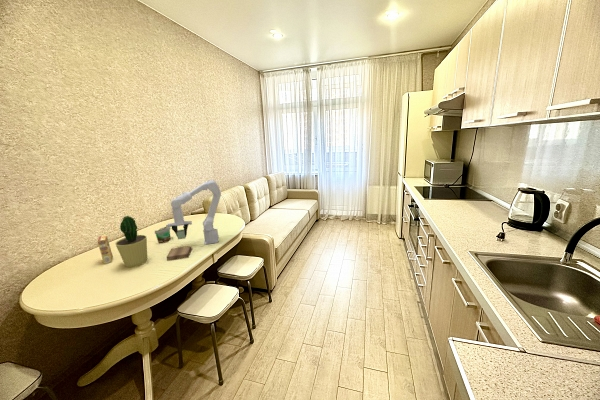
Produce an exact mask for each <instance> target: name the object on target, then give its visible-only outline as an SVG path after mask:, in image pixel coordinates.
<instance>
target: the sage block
mask: <svg viewBox="0 0 600 400" xmlns="http://www.w3.org/2000/svg"><path fill="white" fill-rule="evenodd" d="M176 237H177V240H183V239H184V240H185V239H186V238H187V235H186V236H185V232H184V228H183V229H178V231H177V236H176Z"/></svg>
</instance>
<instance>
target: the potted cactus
mask: <svg viewBox="0 0 600 400" xmlns="http://www.w3.org/2000/svg"><path fill="white" fill-rule="evenodd" d="M119 230H120V232H121V233H122V234H123V238H121V239H118V240H117V241H116V242H115V243H114V244H115V246H116V249H117V252H118V253H119V255H120V257H121V259H122V262H123V264H124V265H125V267H127V268H134V267H138V266H141V265H144V264H145V263H146V262H148V244H147V243H148V242H147V241H148V240H147V235H145V234H138V230H139V226H138V225H137V222H136V219H135V217H134V218H133V216H130V215H126V216H122V220H121V222H120V223H119Z"/></svg>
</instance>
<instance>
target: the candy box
mask: <svg viewBox="0 0 600 400" xmlns="http://www.w3.org/2000/svg"><path fill="white" fill-rule="evenodd" d="M97 245H98V248H99V251H100V254H101V258H102V262H103V264H104V265H105V264H109V263H112V262H113V258H114V256H113V252H112V248H111V246H110V241H109V237H108V235H107V234H106V235H100V236H98V238H97Z"/></svg>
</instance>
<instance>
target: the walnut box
mask: <svg viewBox="0 0 600 400" xmlns="http://www.w3.org/2000/svg"><path fill="white" fill-rule="evenodd" d="M191 252H192V246H191V245H188V246H182V247H181V246H180V247H175V248H171V249H170V250H169V252H168V253H167V255H166V260H167V261H174V260H182V259H188V258H190V255H191Z"/></svg>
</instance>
